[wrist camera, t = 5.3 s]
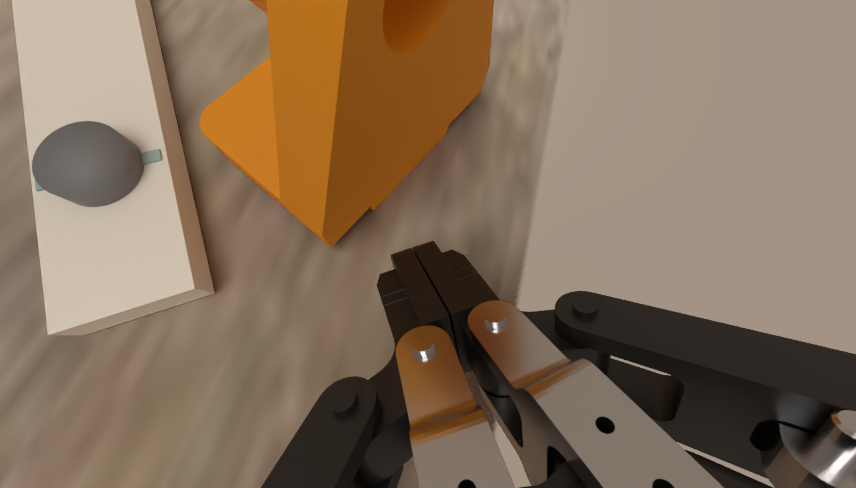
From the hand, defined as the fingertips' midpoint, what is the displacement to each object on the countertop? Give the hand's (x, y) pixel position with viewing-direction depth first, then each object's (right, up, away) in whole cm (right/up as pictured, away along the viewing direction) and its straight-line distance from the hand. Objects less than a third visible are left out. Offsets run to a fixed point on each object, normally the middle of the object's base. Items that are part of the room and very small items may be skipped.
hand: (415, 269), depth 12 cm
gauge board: (-15, +9, +5) cm, 18 cm away
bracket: (-3, +7, +6) cm, 9 cm away
